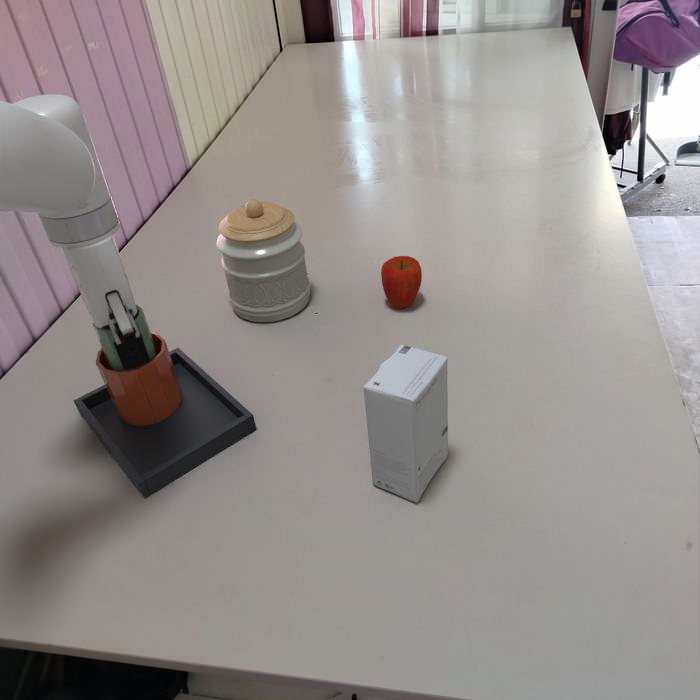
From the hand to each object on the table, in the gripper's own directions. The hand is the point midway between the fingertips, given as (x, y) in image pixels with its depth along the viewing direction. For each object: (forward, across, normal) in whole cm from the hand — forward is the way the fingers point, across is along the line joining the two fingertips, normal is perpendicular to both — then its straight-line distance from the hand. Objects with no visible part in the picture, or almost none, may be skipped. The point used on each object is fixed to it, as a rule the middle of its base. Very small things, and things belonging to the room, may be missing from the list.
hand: (129, 349), depth 79 cm
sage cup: (+3, 0, 0) cm, 3 cm away
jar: (+10, -14, +24) cm, 29 cm away
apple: (+10, 0, +41) cm, 42 cm away
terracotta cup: (+9, 0, 0) cm, 9 cm away
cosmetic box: (+10, +28, +22) cm, 38 cm away
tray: (+10, +4, +1) cm, 11 cm away
